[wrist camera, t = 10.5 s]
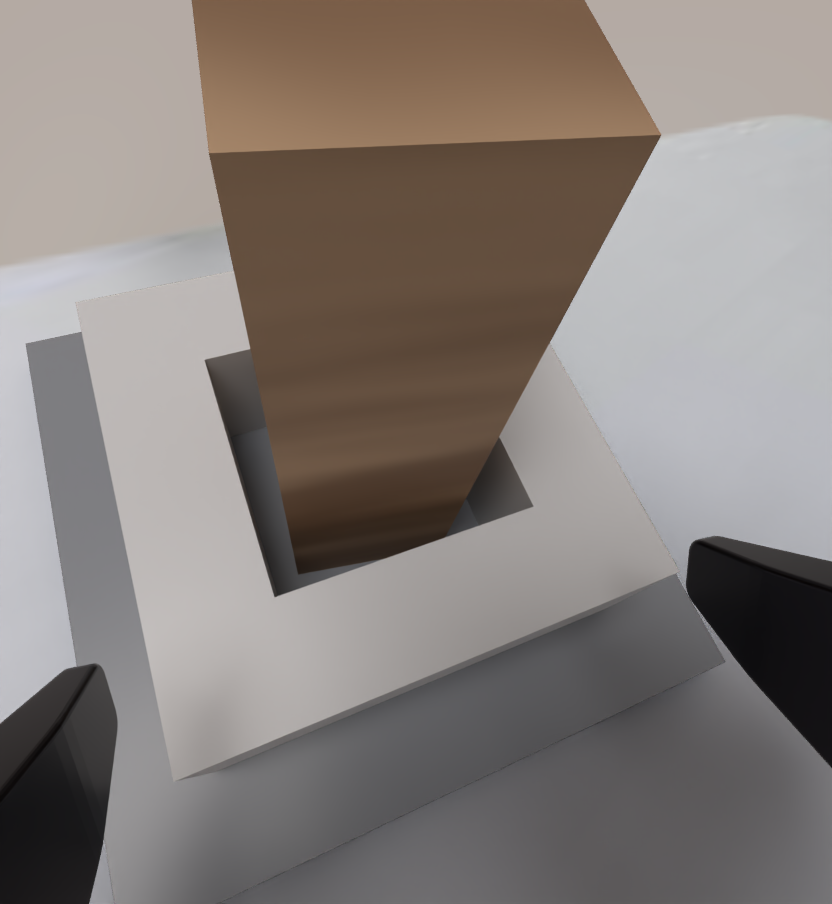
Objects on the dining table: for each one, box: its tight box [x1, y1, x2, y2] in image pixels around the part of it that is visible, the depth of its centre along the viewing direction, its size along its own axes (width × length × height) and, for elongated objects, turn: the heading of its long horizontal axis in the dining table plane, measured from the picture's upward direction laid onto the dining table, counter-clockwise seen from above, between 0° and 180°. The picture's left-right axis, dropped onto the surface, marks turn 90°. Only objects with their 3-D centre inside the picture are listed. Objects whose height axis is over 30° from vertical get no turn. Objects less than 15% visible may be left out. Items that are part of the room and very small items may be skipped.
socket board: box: [26, 271, 725, 904], centre depth 16 cm, size 16×16×5 cm
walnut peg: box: [192, 0, 661, 574], centre depth 12 cm, size 4×4×13 cm
